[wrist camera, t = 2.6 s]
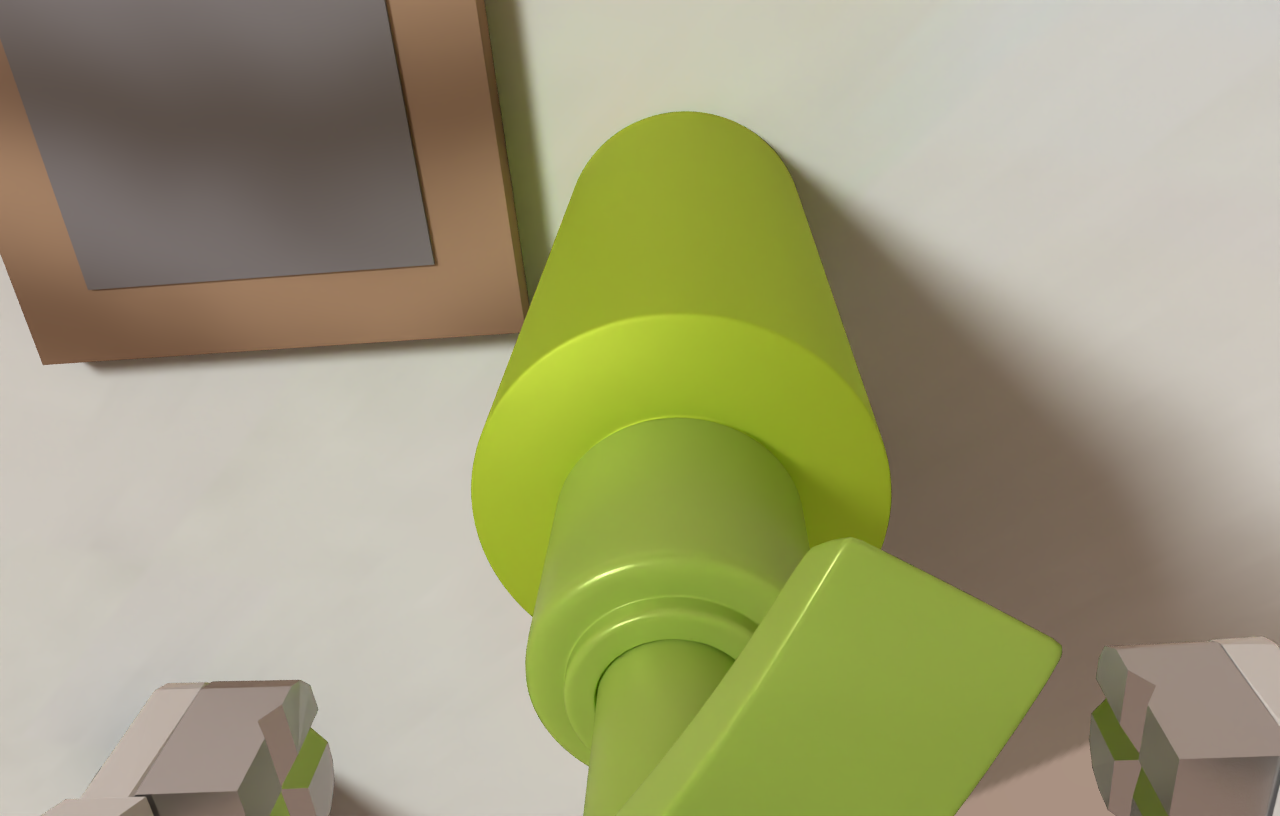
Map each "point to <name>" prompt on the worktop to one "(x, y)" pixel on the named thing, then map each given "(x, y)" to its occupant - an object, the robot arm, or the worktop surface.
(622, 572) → the soap dispenser
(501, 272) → the board
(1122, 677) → the robot arm
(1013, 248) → the worktop surface
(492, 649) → the worktop surface
